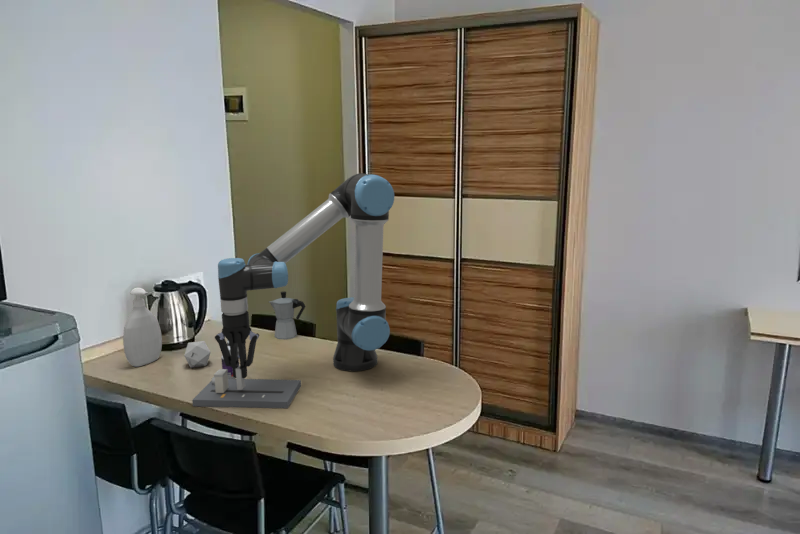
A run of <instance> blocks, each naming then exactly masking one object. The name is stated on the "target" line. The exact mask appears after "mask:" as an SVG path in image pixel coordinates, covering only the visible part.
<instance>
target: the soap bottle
mask: <svg viewBox="0 0 800 534" xmlns="http://www.w3.org/2000/svg"><path fill="white" fill-rule="evenodd" d="M129 294H130V295H132V296H136V298H134V299H133V300H132V304H133V305H132V306H133V308H132V309H131V312H130V313H129V314H128V316H127V318H126V322H125V324H124V327H123V336H122V337H123V339H122V341H123V342H122V344H123V352H124V355H125V359H126V360H127V362H128V363H129V365H130V366H132V367H136V368H137V367H142V366H146V365H149V364H151V363H153V362H156V361H157V360H158V359H159V358H160V355H161V351H162V346H163V338H162V331H161V327H160V324H159V320H158V318H157V317H156V316H155V314H154V313H153V312H152V311H151V310H149V309H148V308H147V307H146V301H145V299H144V298H143V297H141V295H142V296H145V295H148V294H149V291H146V290H145V289H144V288H142V287H135V288H132V289H131V291H130V292H129Z"/></svg>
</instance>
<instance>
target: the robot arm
mask: <svg viewBox="0 0 800 534" xmlns="http://www.w3.org/2000/svg"><path fill="white" fill-rule="evenodd" d="M394 202H395V191H394V188H393V186H392V184H391V183H390V182H389V181H388V180H387V179H386V178H384V177H382V176H380V175H378V174H368V173H363V172H362V173H361V172H360V173H355V174H353V175H351V176H350V177H348V178H347V179H346V180H344V181H343V182H342V183H341V184H340V185H339V186H337V187H336V188H335V189H334V190H333V191H331V192H330V193H329V194H328V199H326V200H325V201H324V202H323V203H321V204H320V205H319V206H318V207H316V208H315V209H314V210H312V211H311V212H310V213H308V215H306V216H305V217H304V218H302V219H301V220H299V221H298V222H297V223H296V224H295V225H293V226H292V227H291V228H290V229H288V230H287V231H286V232H284V233H283V234H282V235H281V236H280V237H278V238H277V239H276V240H275V241H273V242H272V243H271V244H269V245H268V246H267V247H266V248H264V249H263V250H261V251H260V252H259V253H255V254H254V253H253V254H252V255H250V257H249V259H248V261H247V264H246V262H245V260H244V259H243V258H240V257H230V258H224V259H221V260H220V261H219V262H218V264H217V279H218V289H219V297H220V312H221V320H222V321H221V324H222V329H221V332H219V333H217V334H216V335H215V336H214V339H215V341H216V342H217V343H218V345H219V348H220V349H219V350H220V353H221V356H222V355H223V358H224V361H225V364H226V366H230V367H232V369H233V377H234V378H233V379H236V381H237V390H242V389H243V388H244V387H245V379H247V376H248V369H247V368H248V367H250V366H252V364H253V363H254V356H255V350H256V347H257V346H256V344H257V341H258V339H259V337H260V334H259V333H255V332H253V331H252V328H251V326H250V318H249V317H250V316H249V311H248V310H249V303H248V293H247V292H248V291H257V290H266V289H278V288H283V287H287V285H288V283H289V272H288V271H289V270H288V266H287V263H288V262H289V261H291V260H292V259H293V258H294V257H295V256H297V255H298V254H299V253H300V252H302V251H303V250H304V249H305V248H307V247H308V246H309V245H311V244H312V243H313V242H315V241H316V240H317V239H318V238H320V236H322V235H323V234H324V233H326V231H328V230H330V229H331V228H332V227H333V226H334V225H335V224H338V222H340V221H341V220H342V219H344V218H345V219H346V218H349V217H350V219H351V221H352V222H353V223H354V226H355V230H354V231H355V235H354V274H353V275H354V276H353V277H354V279H353V297H352V296H351V297H345V298H341V299H338V300H337V301H336V308H335V313H336V333H337V335H336V336H337V344H336V347H335V351H334V354H333V358H332V361H333V363H332V364H333V367H335V368H336V369H338V370H341V371H345V372H359V371H361V372H362V371H366V370H369V369H373V368H374V367H376V365H378V355H377V352H376V350H378V349H380V348H381V347H382V346H383V345H384V344H386V342H387V341H388V340H389V337H390V333H391V331H390V330H391V329H390V325H389V322H388V321H387V320H386V313H387V311H386V310H387V309H386V307H387V306H386V304H385V303H384V302H383V301H382V285H383V284H382V283H383V257H384V255H383V254H384V253H383V252H384V251H383V250H384V248H383V247H384V225H385V224H387V222H388V221H389V217H390V210H391V209H392V207H393V206H394ZM248 337H249V340H250V341H249V345H248V350H247V348H246V347H247V345H246V343H247V339H248ZM225 338H226V339H227V340H228V341H229V346H230V352H231V355H230V352H229V349H228V346H227V341H226V339H225ZM237 343H238V347H239V363H238V350H237ZM238 365H239V366H238Z"/></svg>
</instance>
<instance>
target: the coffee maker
mask: <svg viewBox="0 0 800 534" xmlns="http://www.w3.org/2000/svg"><path fill="white" fill-rule="evenodd" d="M280 296H281V297H279V298H277V299H274V300H271V301H268V303H270V306H271V307H272V309H273V310H274V313H275V318H276V322H275V328H274V329H275V330H274V338H275V339H277V340H291V339H295V338H296V337H297V336H298V334H297V332H298V331H297V329H296V324H295V320H294V315H295V309H296V308H298V307H299V308H300V307H301V308H300V310H299V312H298V313H297V315H296V317H295V319H296V320H297V321H298V320H299V319H300V317H301V315H302V314H303V313H304V310H305V309H306V305H305V302H304V301H302V300H299V299H298V298H290V297H287V291H284V290H283V291H280Z"/></svg>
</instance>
